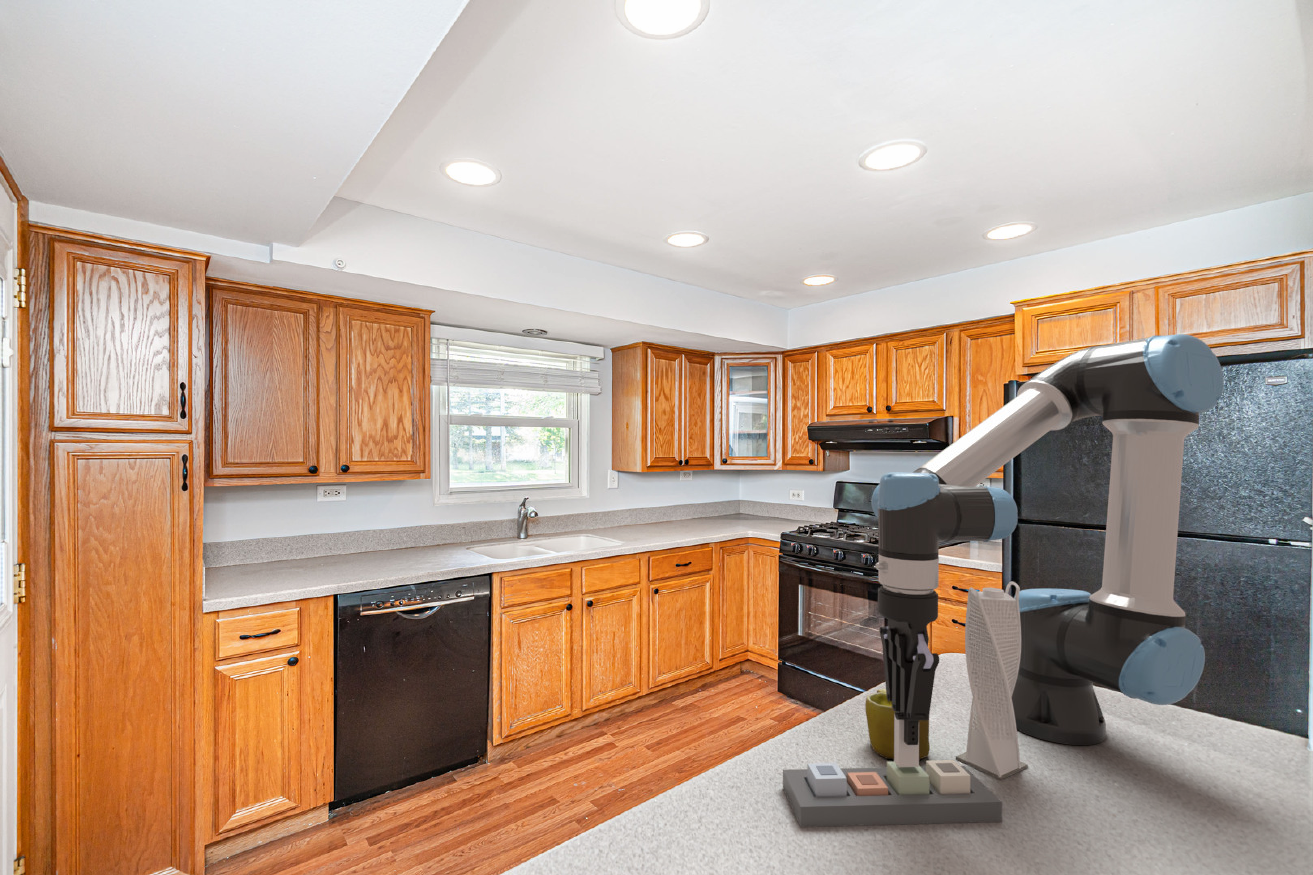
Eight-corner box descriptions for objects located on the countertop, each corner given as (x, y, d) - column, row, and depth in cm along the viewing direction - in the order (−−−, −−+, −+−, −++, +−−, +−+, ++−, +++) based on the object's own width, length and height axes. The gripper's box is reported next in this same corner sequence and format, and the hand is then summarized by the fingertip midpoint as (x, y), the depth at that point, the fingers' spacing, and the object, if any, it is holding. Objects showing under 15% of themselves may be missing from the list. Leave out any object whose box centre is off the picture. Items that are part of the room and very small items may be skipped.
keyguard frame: (964, 783, 89) (964, 765, 89) (1002, 821, 80) (1002, 801, 80) (782, 787, 88) (782, 769, 88) (800, 826, 79) (800, 806, 79)
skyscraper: (1037, 771, 93) (1037, 581, 93) (1006, 787, 89) (1006, 587, 89) (982, 747, 100) (982, 570, 100) (951, 760, 96) (951, 576, 96)
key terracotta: (875, 793, 86) (875, 771, 86) (888, 810, 82) (888, 787, 82) (847, 794, 86) (847, 771, 86) (857, 811, 82) (857, 787, 82)
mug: (950, 760, 92) (925, 689, 95) (880, 775, 94) (857, 705, 97) (936, 739, 104) (914, 676, 106) (874, 752, 106) (854, 691, 108)
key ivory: (954, 781, 87) (954, 759, 87) (970, 798, 83) (970, 774, 83) (926, 782, 87) (926, 759, 87) (940, 799, 83) (940, 775, 83)
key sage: (915, 782, 87) (915, 760, 87) (929, 799, 83) (929, 775, 83) (886, 783, 86) (886, 760, 86) (899, 800, 82) (899, 776, 82)
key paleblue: (836, 784, 86) (836, 761, 86) (846, 801, 82) (846, 777, 82) (807, 785, 86) (807, 762, 86) (816, 802, 82) (816, 778, 82)
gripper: (862, 577, 91) (860, 741, 91) (901, 599, 78) (900, 791, 78) (912, 577, 91) (911, 740, 91) (960, 599, 78) (959, 790, 78)
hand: (906, 763), depth 84 cm, fingers closed
